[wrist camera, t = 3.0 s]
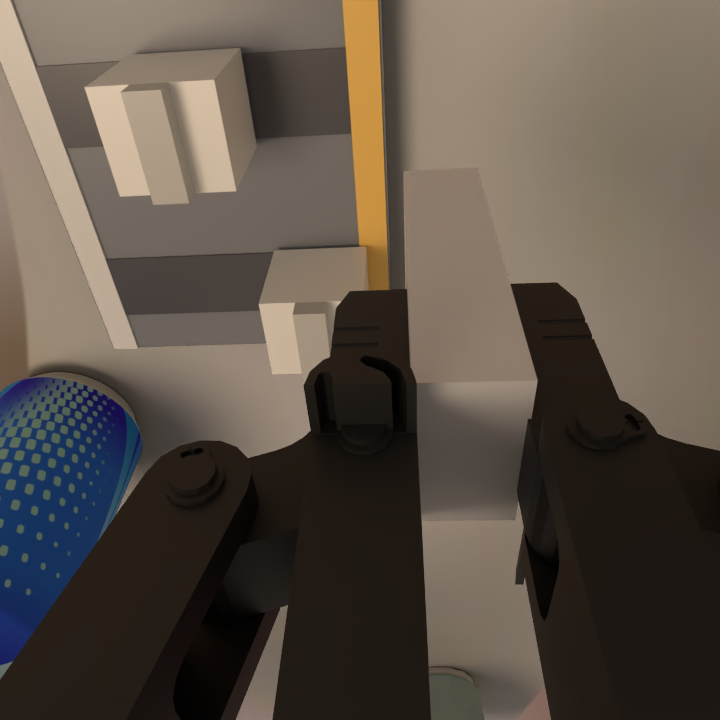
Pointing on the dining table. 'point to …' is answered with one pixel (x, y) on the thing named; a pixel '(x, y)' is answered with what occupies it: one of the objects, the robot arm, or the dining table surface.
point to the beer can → (55, 489)
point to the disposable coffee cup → (453, 695)
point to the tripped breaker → (175, 123)
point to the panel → (219, 209)
